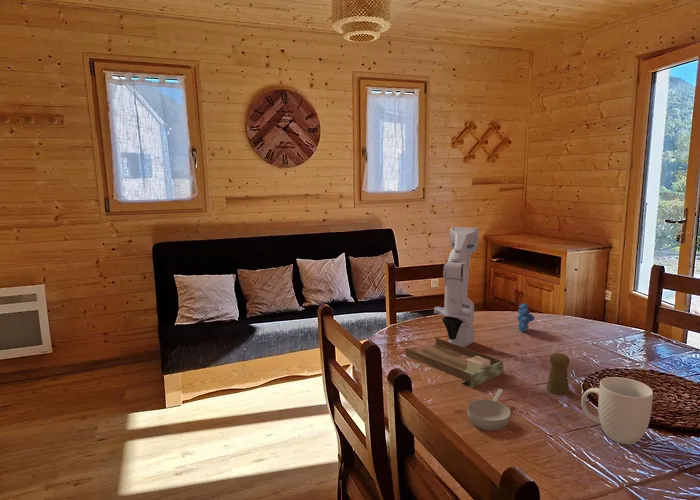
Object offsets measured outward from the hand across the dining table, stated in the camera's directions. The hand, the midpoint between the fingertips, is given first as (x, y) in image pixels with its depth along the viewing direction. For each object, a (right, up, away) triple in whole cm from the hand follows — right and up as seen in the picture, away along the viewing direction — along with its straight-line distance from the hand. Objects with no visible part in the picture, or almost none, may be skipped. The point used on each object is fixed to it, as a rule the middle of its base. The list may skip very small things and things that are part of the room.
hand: (452, 338), depth 154 cm
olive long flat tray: (0, -9, +2) cm, 9 cm away
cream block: (+7, -9, -7) cm, 13 cm away
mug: (+31, -16, -39) cm, 53 cm away
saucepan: (+4, -15, -30) cm, 33 cm away
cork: (+27, -12, -16) cm, 34 cm away
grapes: (+36, -4, +33) cm, 49 cm away
